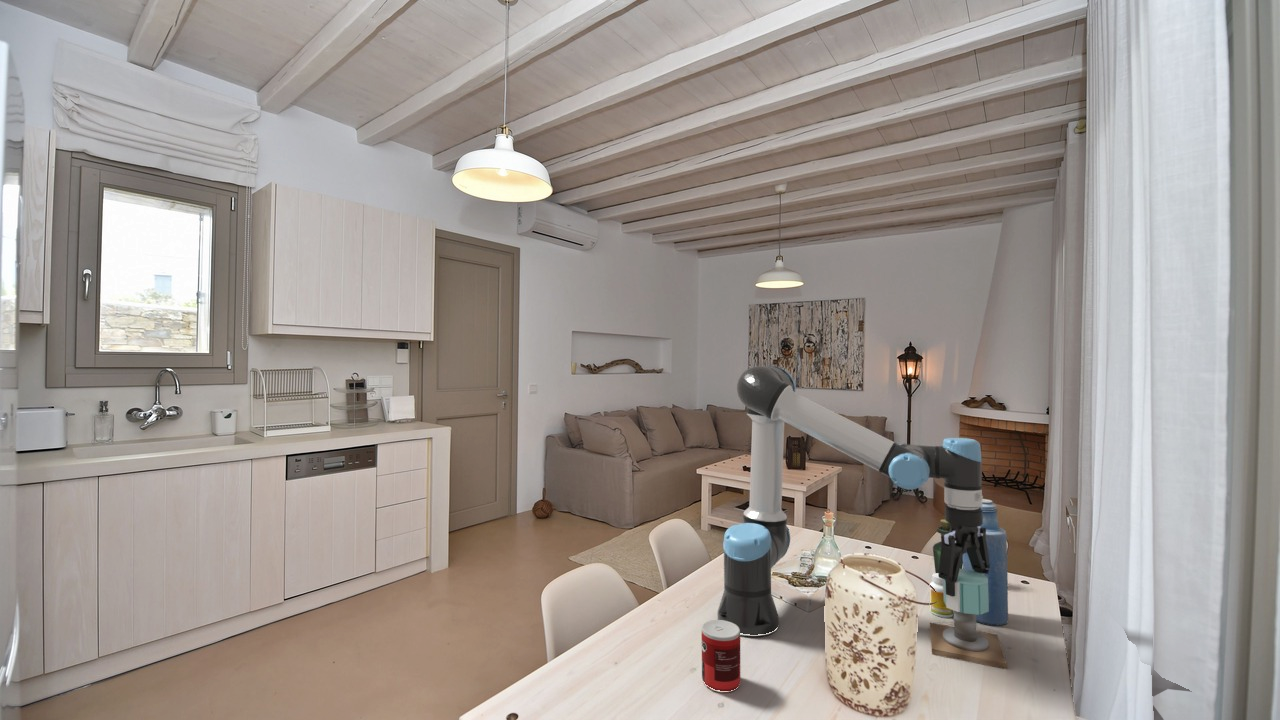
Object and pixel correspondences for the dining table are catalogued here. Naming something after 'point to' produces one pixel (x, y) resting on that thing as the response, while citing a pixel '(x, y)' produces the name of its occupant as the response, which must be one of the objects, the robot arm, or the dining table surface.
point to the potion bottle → (937, 547)
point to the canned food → (721, 655)
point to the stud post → (966, 642)
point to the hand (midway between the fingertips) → (965, 604)
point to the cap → (971, 592)
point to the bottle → (994, 567)
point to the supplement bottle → (938, 598)
